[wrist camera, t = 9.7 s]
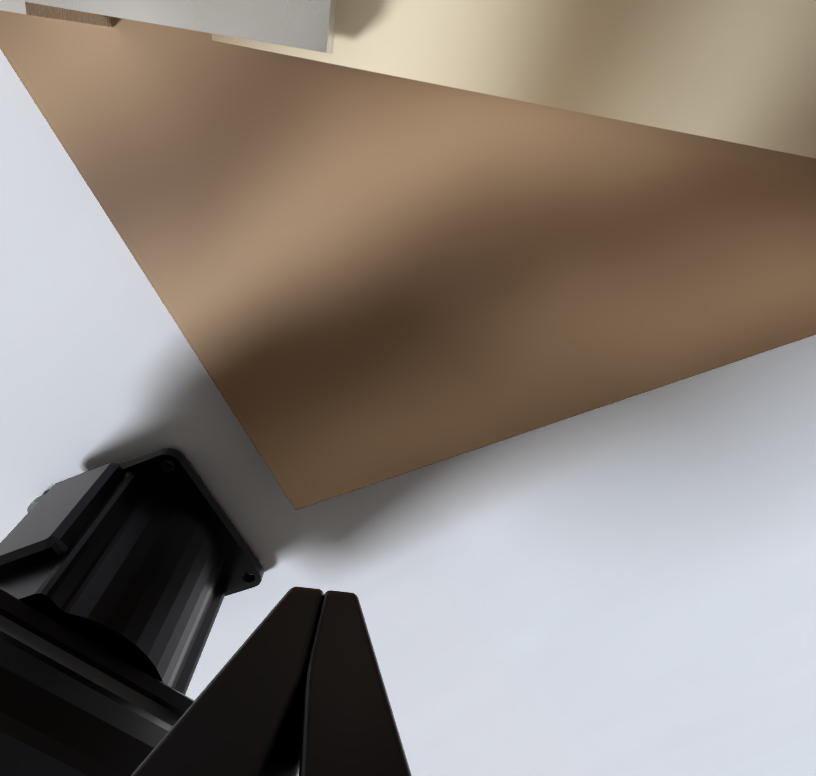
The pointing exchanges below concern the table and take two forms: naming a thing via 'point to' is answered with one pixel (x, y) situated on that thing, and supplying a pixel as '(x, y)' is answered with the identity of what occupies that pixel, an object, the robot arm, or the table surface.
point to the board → (415, 243)
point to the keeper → (205, 17)
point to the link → (603, 58)
